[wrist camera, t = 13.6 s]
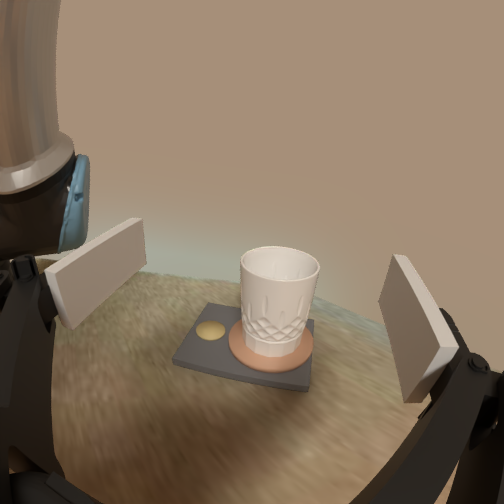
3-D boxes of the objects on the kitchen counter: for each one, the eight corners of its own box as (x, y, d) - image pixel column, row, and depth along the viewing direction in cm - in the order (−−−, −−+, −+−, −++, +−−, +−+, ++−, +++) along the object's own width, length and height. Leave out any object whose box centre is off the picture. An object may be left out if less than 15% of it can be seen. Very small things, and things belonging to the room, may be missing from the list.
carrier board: (173, 364, 28) (171, 352, 28) (208, 308, 39) (208, 297, 38) (307, 392, 26) (310, 381, 25) (312, 325, 36) (315, 315, 36)
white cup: (259, 371, 26) (267, 288, 22) (226, 328, 32) (227, 252, 28) (318, 347, 30) (336, 270, 26) (280, 312, 36) (289, 242, 32)
